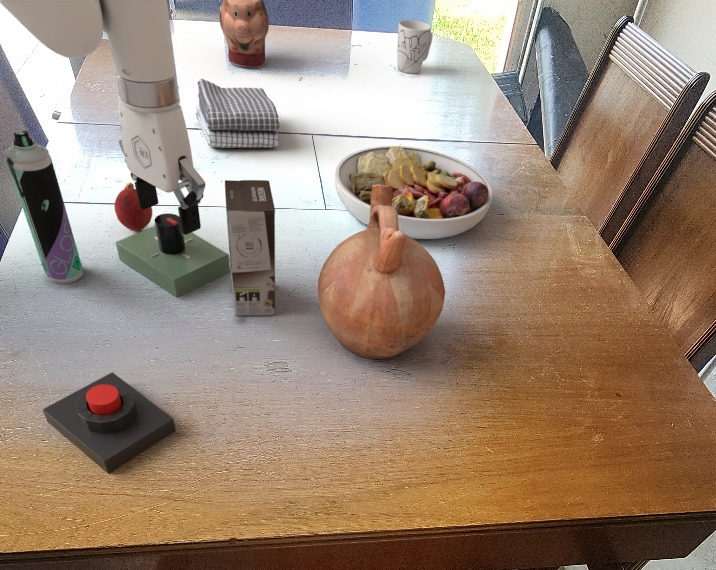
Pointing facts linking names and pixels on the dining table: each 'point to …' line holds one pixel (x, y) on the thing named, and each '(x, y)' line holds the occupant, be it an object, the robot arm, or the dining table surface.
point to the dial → (169, 234)
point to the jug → (380, 286)
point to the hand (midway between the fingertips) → (170, 218)
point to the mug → (413, 45)
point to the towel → (236, 117)
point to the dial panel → (173, 261)
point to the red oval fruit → (131, 210)
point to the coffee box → (251, 245)
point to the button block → (110, 424)
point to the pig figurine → (245, 31)
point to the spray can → (44, 208)
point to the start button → (103, 399)
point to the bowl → (415, 189)
